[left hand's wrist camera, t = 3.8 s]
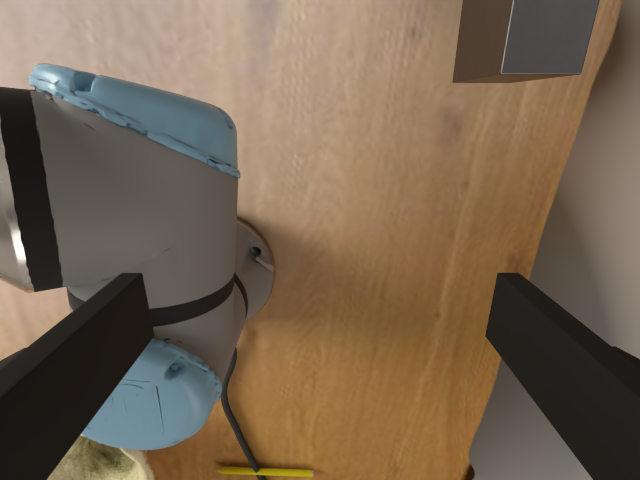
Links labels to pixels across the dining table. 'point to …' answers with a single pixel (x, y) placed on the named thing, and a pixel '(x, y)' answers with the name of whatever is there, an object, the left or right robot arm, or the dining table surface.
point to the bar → (522, 39)
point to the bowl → (102, 463)
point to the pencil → (266, 471)
